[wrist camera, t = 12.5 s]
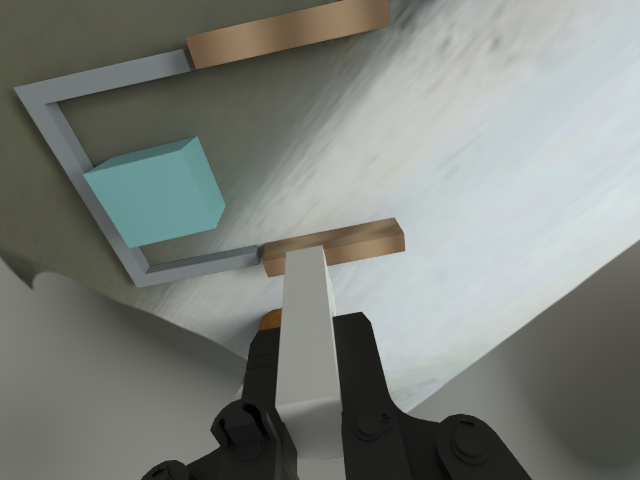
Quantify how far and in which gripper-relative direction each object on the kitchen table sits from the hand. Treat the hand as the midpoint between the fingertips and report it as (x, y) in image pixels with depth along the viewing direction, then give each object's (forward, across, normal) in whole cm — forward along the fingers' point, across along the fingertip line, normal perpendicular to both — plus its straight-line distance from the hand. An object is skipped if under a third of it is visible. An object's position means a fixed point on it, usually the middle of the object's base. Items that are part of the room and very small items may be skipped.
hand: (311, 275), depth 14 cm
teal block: (+19, -13, 0) cm, 23 cm away
